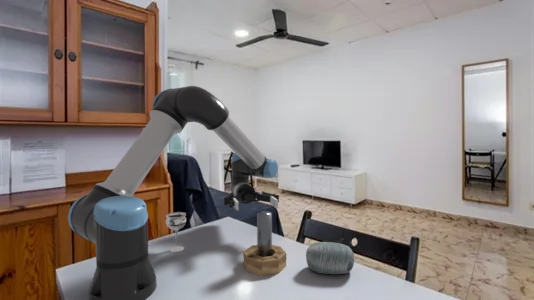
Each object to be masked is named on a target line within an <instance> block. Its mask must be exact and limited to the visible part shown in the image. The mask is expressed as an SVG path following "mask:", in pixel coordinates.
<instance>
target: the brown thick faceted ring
mask: <svg viewBox="0 0 534 300" xmlns="http://www.w3.org/2000/svg"><path fill="white" fill-rule="evenodd" d="M243 265H244V268H245V269H246V272H247V273H252V274H255V275H258V276H261V277H263V276H268V275H276V274H280V272H281V271H283V270H284V269H285V268H286V267H287V252H286V251H285V250H284V249H283V248H282V246H280V245H274V244H272V256H268V257H261V256H257V244H255V245H253V244H252V245H250V246H249V247H247V248H245V250H243Z"/></svg>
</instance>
